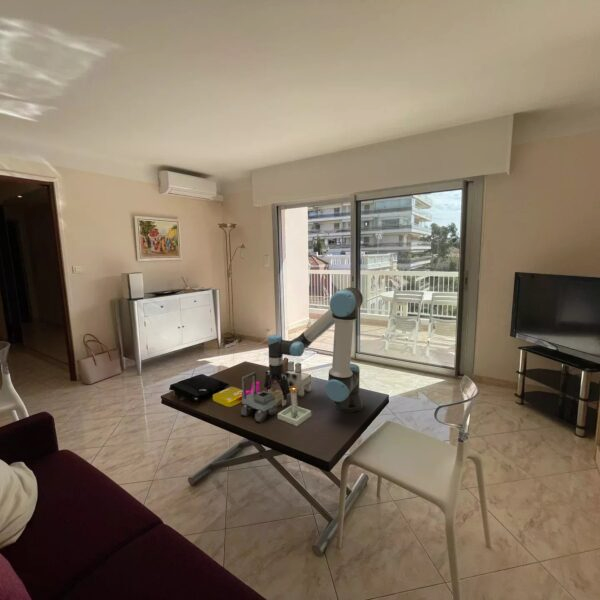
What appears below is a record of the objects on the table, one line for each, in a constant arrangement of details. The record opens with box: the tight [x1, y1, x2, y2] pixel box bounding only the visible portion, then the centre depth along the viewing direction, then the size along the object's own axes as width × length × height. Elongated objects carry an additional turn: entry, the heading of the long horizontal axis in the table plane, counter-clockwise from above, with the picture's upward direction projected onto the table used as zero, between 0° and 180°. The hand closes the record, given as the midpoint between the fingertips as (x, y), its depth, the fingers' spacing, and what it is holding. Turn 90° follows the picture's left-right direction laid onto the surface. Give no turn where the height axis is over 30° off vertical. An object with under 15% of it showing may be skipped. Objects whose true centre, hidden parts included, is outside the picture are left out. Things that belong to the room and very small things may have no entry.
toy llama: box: [285, 361, 312, 398], centre depth 186 cm, size 8×18×20 cm, turn 146°
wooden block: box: [273, 357, 289, 384], centre depth 204 cm, size 4×11×18 cm, turn 130°
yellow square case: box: [212, 386, 242, 408], centre depth 180 cm, size 15×15×5 cm
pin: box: [289, 386, 299, 418], centre depth 158 cm, size 5×5×15 cm
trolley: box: [240, 371, 278, 423], centre depth 161 cm, size 15×14×20 cm
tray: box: [276, 405, 312, 427], centre depth 159 cm, size 12×12×3 cm
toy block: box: [241, 381, 261, 405], centre depth 180 cm, size 15×6×8 cm, turn 163°
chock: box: [272, 389, 283, 407], centre depth 175 cm, size 5×7×6 cm
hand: (277, 402), depth 175 cm, fingers open, 9 cm apart
